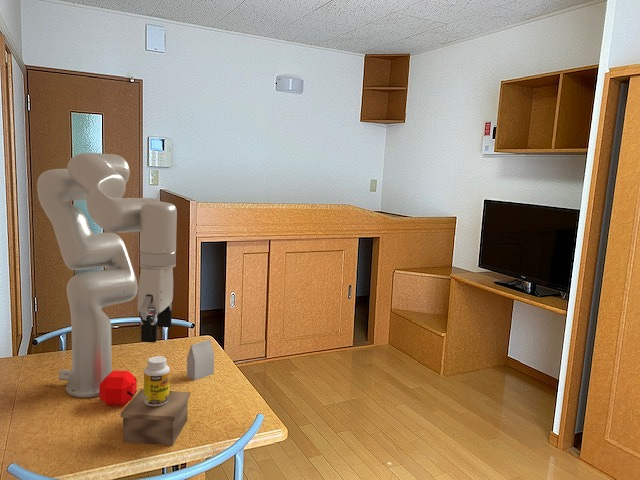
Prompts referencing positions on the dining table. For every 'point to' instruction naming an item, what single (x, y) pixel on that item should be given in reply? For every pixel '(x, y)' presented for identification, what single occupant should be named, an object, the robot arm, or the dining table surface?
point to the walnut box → (155, 419)
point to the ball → (118, 388)
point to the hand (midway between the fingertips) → (156, 333)
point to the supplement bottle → (156, 382)
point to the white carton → (200, 360)
